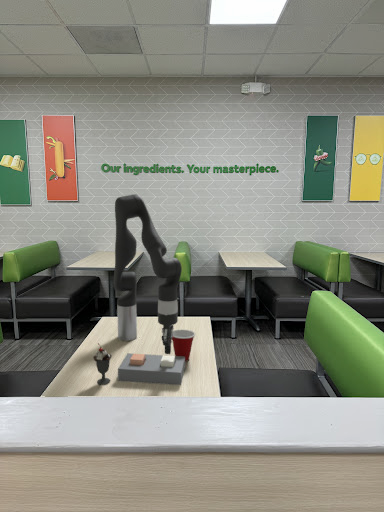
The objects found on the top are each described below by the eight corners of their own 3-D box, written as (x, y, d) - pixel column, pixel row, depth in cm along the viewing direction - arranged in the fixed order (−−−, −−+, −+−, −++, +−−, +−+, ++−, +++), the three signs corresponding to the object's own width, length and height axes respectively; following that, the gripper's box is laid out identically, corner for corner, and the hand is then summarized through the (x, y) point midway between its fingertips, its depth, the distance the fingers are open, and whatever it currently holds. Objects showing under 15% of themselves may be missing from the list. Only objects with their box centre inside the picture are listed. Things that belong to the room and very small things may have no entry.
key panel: (127, 364, 140) (127, 353, 140) (185, 367, 138) (185, 356, 137) (118, 381, 128) (117, 368, 127) (180, 385, 125) (181, 372, 125)
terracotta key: (133, 363, 136) (133, 353, 135) (145, 363, 135) (145, 354, 134) (130, 368, 131) (130, 359, 130) (142, 369, 130) (142, 360, 130)
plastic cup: (198, 355, 150) (198, 329, 148) (190, 366, 139) (190, 339, 137) (175, 351, 153) (175, 326, 151) (166, 362, 143) (166, 335, 141)
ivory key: (163, 364, 134) (163, 355, 134) (174, 365, 134) (174, 356, 133) (160, 370, 130) (160, 361, 129) (173, 371, 129) (173, 361, 129)
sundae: (96, 377, 130) (94, 340, 128) (113, 376, 131) (112, 340, 128) (92, 386, 124) (91, 348, 121) (111, 386, 124) (110, 347, 122)
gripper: (161, 304, 135) (161, 345, 138) (154, 315, 122) (154, 360, 125) (179, 305, 134) (179, 346, 137) (175, 316, 121) (174, 361, 124)
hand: (167, 353), depth 131 cm, fingers closed
